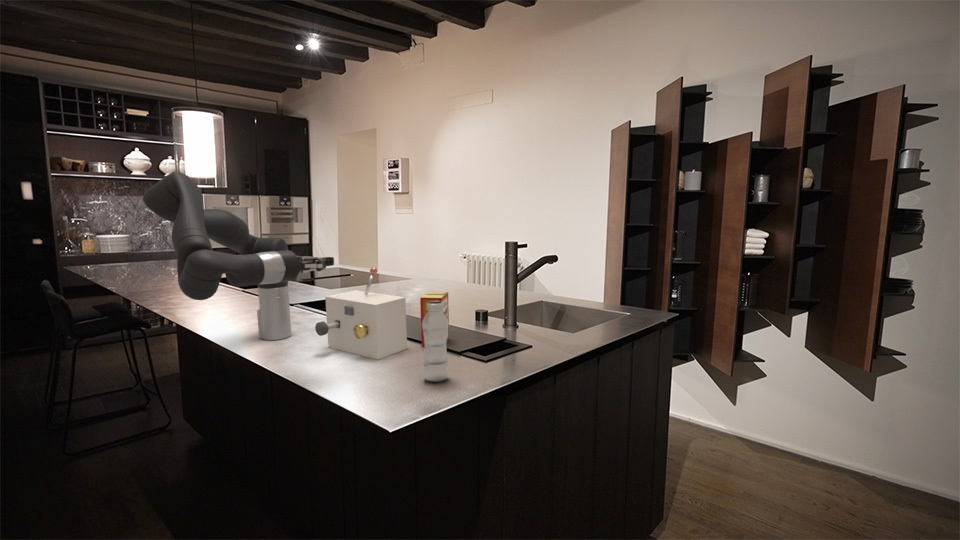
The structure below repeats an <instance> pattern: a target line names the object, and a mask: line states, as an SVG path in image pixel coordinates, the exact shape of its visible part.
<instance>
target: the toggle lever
mask: <svg viewBox="0 0 960 540" xmlns="http://www.w3.org/2000/svg"><path fill="white" fill-rule="evenodd" d="M369 273H370V276H369V279H368V281H367V284H366V288H365V291H364V292H365V293H364V294H365V295H366V296H367V295H368V292H370V289H371V286H372V283H373V280H374V277H375V275H376V274H377V273H378V268H376V267H371V268H370V269H369Z"/></svg>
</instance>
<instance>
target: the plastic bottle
mask: <svg viewBox="0 0 960 540" xmlns="http://www.w3.org/2000/svg"><path fill="white" fill-rule="evenodd" d="M442 310H443V307H442V302H440V301H430V302H427V311H428V313H427V314H426V316H425V318H424V319H423V322H422V328H423V335H424V344H425V347H424V354H423V355H424V357H423V358H424V359H423V364H422V375H423V378H424V379H425V380H426V381H427V382H433V383H434V382H435V383H436V382H437V383H438V382H443V381H445V380H447V379H448V377H449V373H450V365H449V361H448V354H447V353H448V352H447V350H448V349H447V343H448V341H447V332H448V320H447V318H446V317H445V315H444V314H443V313H442Z"/></svg>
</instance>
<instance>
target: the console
mask: <svg viewBox="0 0 960 540" xmlns="http://www.w3.org/2000/svg"><path fill="white" fill-rule="evenodd" d="M364 293H365V291H362V290H358V289H357V290H356V289H355V290H351V291H347V292H341V293H337V294H332V295H326V296H325V298H324V299H325V310H326V312H325V314H326V324H330V323H334V322H338V321H339V322H340V326H339V327H336V328H332V329H329V330H328V333H327V343H328V344H327V345H328V348H330V349H335V350H338V351H339V350H340V351H341V352H347V353H350V354H354V355H359V356H362V357H366V358H371V359H373V360H374V359H375V360H377V361H379V360H380V359H383V358H386V357H389V356H392V355H394V354H396V353H399V352H402V351H405V350H407V349H408V335H407V331H408V330H407V305H406V301H407V300H406V297H405V296H398V295H392V294H383V293H377V292H372V291H371V292H370V291H369V292H368V295H367V296H366V295H365V294H364ZM359 324H363V325H364V326H365V327H367V326H368V332H367V335H366V337H364V338H361V339H358V338H356V337H355V335H354V332H353V329H354V326H356V325H359Z"/></svg>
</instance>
